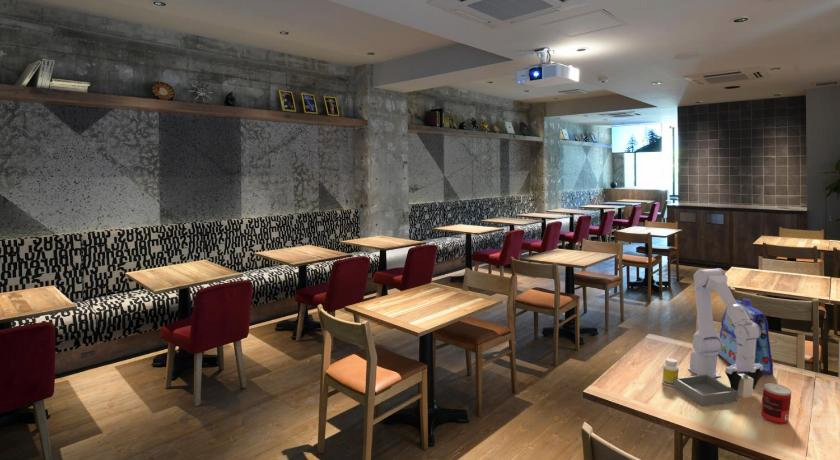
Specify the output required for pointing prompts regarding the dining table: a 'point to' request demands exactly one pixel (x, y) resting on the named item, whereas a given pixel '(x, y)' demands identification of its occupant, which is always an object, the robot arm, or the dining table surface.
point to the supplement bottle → (670, 371)
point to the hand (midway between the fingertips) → (742, 389)
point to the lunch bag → (762, 342)
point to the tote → (705, 390)
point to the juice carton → (745, 386)
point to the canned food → (776, 403)
